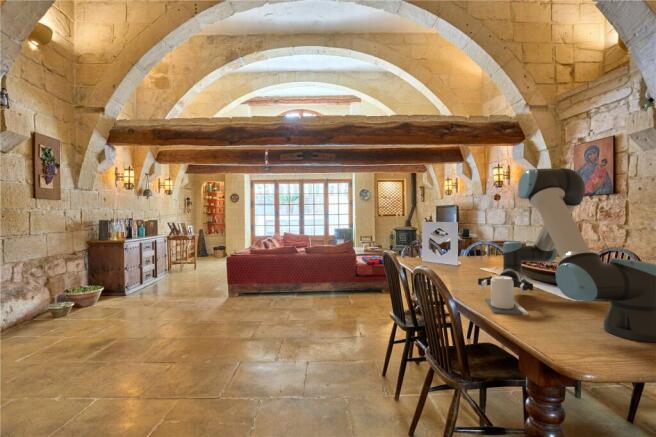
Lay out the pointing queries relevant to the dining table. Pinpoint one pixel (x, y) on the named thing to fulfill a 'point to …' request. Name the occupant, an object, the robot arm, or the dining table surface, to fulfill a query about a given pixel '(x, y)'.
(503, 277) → the beverage can
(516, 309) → the mat
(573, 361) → the dining table surface
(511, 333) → the dining table surface
